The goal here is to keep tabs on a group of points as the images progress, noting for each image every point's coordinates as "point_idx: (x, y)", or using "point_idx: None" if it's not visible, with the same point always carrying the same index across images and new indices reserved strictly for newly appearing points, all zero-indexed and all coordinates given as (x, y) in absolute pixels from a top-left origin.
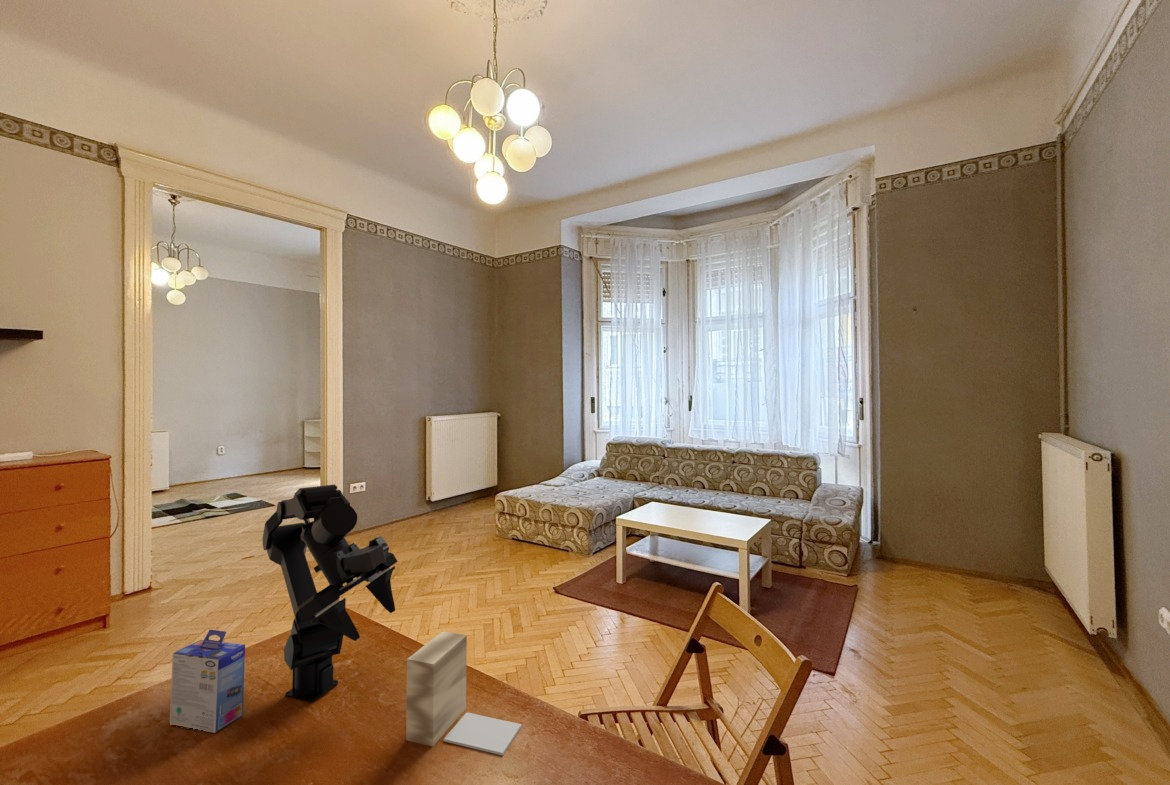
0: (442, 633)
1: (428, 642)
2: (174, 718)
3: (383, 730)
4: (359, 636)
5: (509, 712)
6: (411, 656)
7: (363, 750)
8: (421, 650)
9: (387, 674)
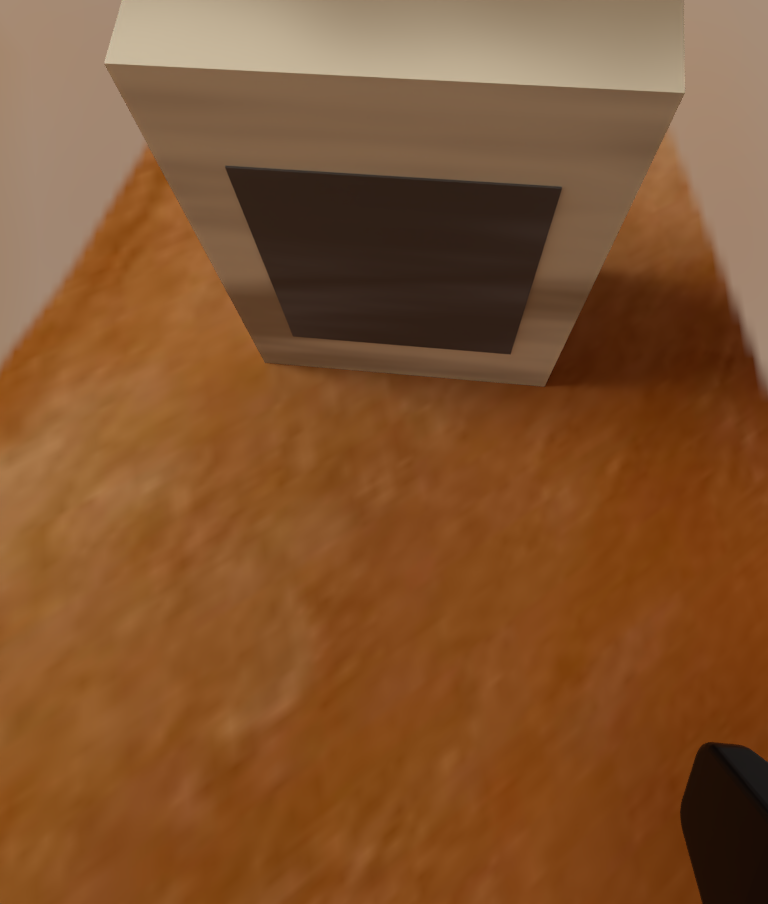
0: (150, 42)
1: (345, 70)
2: None
3: (512, 527)
4: (718, 748)
5: None
6: (629, 80)
7: (661, 536)
8: (503, 55)
9: (26, 823)
